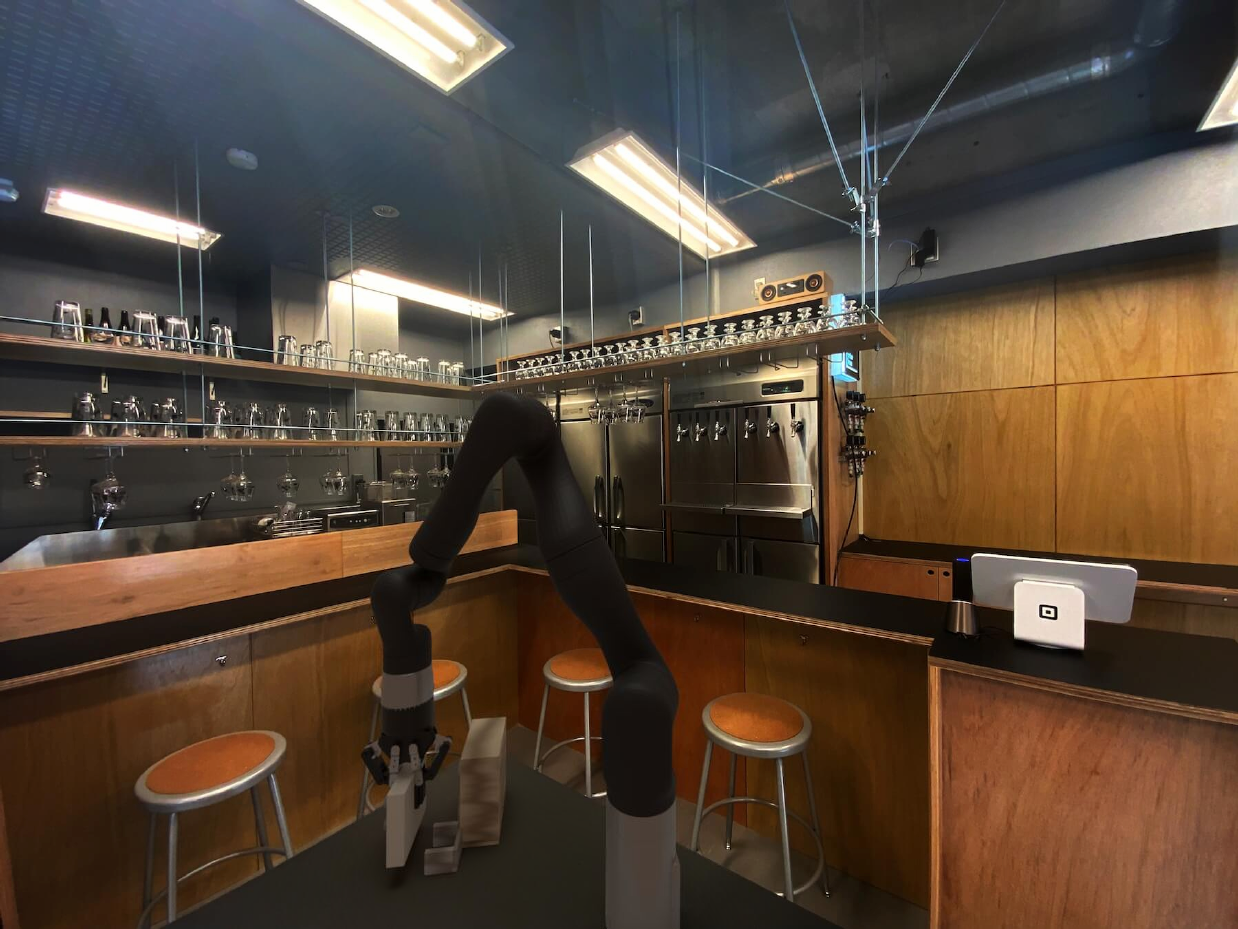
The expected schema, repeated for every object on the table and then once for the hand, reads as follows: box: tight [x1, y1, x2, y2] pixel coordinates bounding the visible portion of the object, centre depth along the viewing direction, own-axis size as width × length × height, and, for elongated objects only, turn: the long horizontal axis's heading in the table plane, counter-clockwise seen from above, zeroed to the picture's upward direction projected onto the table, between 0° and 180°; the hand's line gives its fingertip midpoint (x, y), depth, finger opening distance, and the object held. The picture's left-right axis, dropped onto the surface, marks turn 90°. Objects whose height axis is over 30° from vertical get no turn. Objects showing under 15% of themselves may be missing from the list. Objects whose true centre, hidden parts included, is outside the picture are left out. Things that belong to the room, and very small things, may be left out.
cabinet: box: [423, 716, 507, 876], centre depth 78 cm, size 10×16×14 cm, turn 8°
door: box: [383, 762, 427, 869], centre depth 73 cm, size 12×4×10 cm, turn 8°
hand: (408, 806), depth 73 cm, fingers closed on door, 2 cm apart
